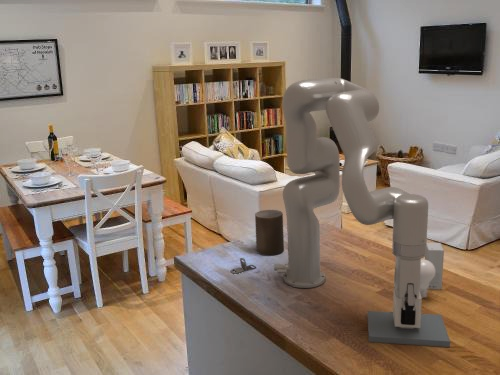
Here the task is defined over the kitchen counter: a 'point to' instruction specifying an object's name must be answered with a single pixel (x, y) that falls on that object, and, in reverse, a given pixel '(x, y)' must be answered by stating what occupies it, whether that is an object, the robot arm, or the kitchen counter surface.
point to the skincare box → (435, 263)
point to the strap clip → (244, 267)
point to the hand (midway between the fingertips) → (406, 316)
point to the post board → (407, 330)
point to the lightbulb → (426, 276)
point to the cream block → (399, 304)
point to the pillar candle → (269, 232)
